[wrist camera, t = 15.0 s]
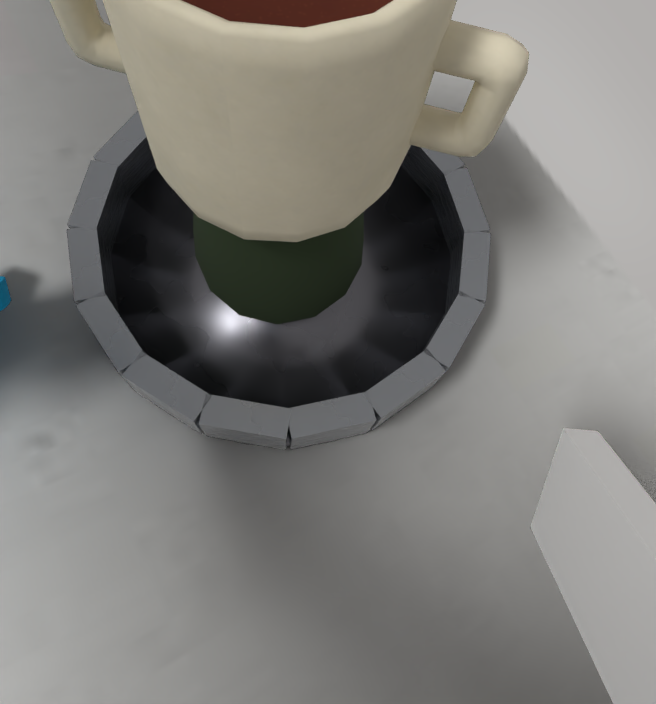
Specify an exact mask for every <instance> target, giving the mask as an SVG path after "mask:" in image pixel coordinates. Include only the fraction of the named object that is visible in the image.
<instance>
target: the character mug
mask: <svg viewBox="0 0 656 704" xmlns="http://www.w3.org/2000/svg"><path fill="white" fill-rule="evenodd" d="M456 2H457V0H103V3H104V6H105V9H106V12H107V15H108V18H109V22H110V25H111V26H110V25H108V24H106V23H104V22H103V20H102V18H101V17H100V14H99V11H98V8H97V5H96V2H95V0H50V3H51V5H52V7H53V10H54V12H55V15H56V17H57V19H58V22H59V24H60V27H61V29H62V31H63V34H64V36H65V38H66V41H67V43H68V44H69V46H70V47H71V48H72V50H73V51H74V53H75V54H76V55H77V57H78V58H80V59H82V60H84V61H86V62H88V63H90V64H92V65H95V66H98V67H102V68H106V69H110V70H114V71H118V72H122V73H126V75H127V78H128V81H129V84H130V87H131V90H132V93H133V96H134V99H135V103H136V106H137V109H138V112H139V115H140V118H141V121H142V124H143V127H144V130H145V134H146V137H147V140H148V143H149V146H150V149H151V152H152V155H153V158H154V161H155V164H156V167H157V170H158V171H159V172H160V174H161V175H162V177H163V178H164V179H165V181H166V182H167V183H168V184H169V186H170V187H171V188H172V189H173V190H174V191H175V192H176V193H177V194H178V196H179V197H180V198H181V199H182V200H183V201H184V202H185V203H186V204H187V206H188V207H189V208H190V209H191V210H192V211H193V234H194V245H195V256H196V259H197V261H198V264H199V266H200V268H201V271H202V273H203V275H204V278H205V280H206V282H207V285H208V287H209V289H210V291H211V292H212V293H214V294H215V295H216V296H217V297H218V298H220V299H221V300H222V301H223V302H224V303H225V304H227V305H228V306H229V307H230V308H231V309H233V310H234V311H235V312H236V313H237V314H238V315H241V316H245V317H249V318H253V319H257V320H261V321H265V322H269V323H273V324H282V323H287V322H292V321H297V320H302V319H307V318H312V317H315V316H317V315H318V314H320V313H321V312H322V311H324V310H325V309H326V308H328V307H329V306H331V305H332V304H333V303H335V302H336V301H338V300H339V299H340V298H342V297H343V296H344V295H346V293H347V291H348V289H349V287H350V285H351V284H352V282H353V280H354V278H355V276H356V274H357V272H358V271H359V269H360V267H361V265H362V254H363V242H364V211H365V210H366V209H367V208H368V207H370V206H371V205H372V204H373V203H374V202H375V201H377V200H378V199H379V198H380V197H381V196H382V195H383V194H384V193H385V192H386V191H387V190H388V188H389V187H390V186H391V184H392V182H393V180H394V178H395V176H396V174H397V172H398V170H399V168H400V166H401V164H402V162H403V160H404V158H405V156H406V154H407V152H408V150H409V148H410V146H411V145H414V146H418V147H422V148H426V149H430V150H434V151H438V152H442V153H446V154H450V155H454V156H458V157H476V156H477V155H478V154H479V153H480V152H481V151H482V150H484V149H485V148H486V147H487V146H488V144H489V143H490V142H491V141H492V140H493V138H494V136H495V134H496V132H497V130H498V128H499V126H500V125H501V123H502V121H503V119H504V117H505V115H506V113H507V111H508V109H509V107H510V105H511V103H512V101H513V99H514V97H515V95H516V93H517V91H518V89H519V87H520V86H521V83H522V81H523V80H524V78H525V76H526V74H527V67H528V59H529V52H528V51H527V49H526V48H525V47H524V46H523V45H522V44H521V43H520V42H518V41H517V40H515V39H514V38H512V37H510V36H509V35H507V34H505V33H501V32H496V31H493V30H489V29H485V28H481V27H477V26H473V25H469V24H465V23H461V22H456V21H453V20H451V17H452V14H453V11H454V8H455V5H456ZM434 71H437V72H441V73H445V74H449V75H453V76H457V77H462V78H466V79H470V80H474V81H475V83H474V85H473V88H472V90H471V92H470V95H469V97H468V100H467V102H466V105H465V107H464V109H463V112H461V113H458V112H454V111H450V110H446V109H442V108H438V107H434V106H430V105H426V104H424V102H425V99H426V96H427V93H428V90H429V86H430V83H431V80H432V77H433V74H434Z"/></svg>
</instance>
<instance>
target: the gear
mask: <svg viewBox="0 0 656 704" xmlns="http://www.w3.org/2000/svg"><path fill="white" fill-rule="evenodd" d="M10 301H11V298H10V294H9V290H8V286H7V283H6V279H5V277H3V276H0V311H1V310H3V309H5V308H6V307H7V306H8V305H9V303H10Z"/></svg>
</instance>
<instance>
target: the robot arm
mask: <svg viewBox="0 0 656 704" xmlns="http://www.w3.org/2000/svg"><path fill="white" fill-rule="evenodd" d="M530 528H531V530H532V532H533V534H534V536H535V538H536V541H537V543H538V545H539V547H540V549H541V551H542V553H543V556H544V558H545V560H546V562H547V564H548V566H549V568H550V570H551V573H552V575H553V577H554V579H555V581H556V583H557V585H558V587H559V590H560V592H561V594H562V596H563V598H564V600H565V602H566V605H567V607H568V609H569V611H570V613H571V615H572V617H573V619H574V622H575V624H576V626H577V628H578V630H579V632H580V634H581V636H582V639H583V641H584V643H585V645H586V647H587V649H588V651H589V654H590V656H591V658H592V660H593V662H594V664H595V666H596V668H597V671H598V673H599V675H600V677H601V679H602V681H603V683H604V686H605V688H606V690H607V692H608V694H609V696H610V698H611V700H612V703H613V704H656V503H655V502H654V501H653V499H652V498H651V497H650V496H649V494H648V493H647V492H646V491H645V489H644V488H643V487H642V486H641V484H640V483H639V482H638V481H637V479H636V478H635V477H634V476H633V474H632V473H631V472H630V471H629V469H628V468H627V467H626V465H625V464H624V463H623V462H622V460H621V459H620V458H619V457H618V455H617V454H616V453H615V452H614V450H613V449H612V448H611V447H610V445H609V444H608V443H607V442H606V440H605V439H604V438H603V437H602V435H601V434H600V433H599V432H598V431H594V430H582V429H571V428H563V430H562V433H561V436H560V439H559V442H558V445H557V448H556V451H555V454H554V457H553V460H552V463H551V466H550V469H549V472H548V475H547V478H546V481H545V484H544V487H543V490H542V493H541V496H540V499H539V502H538V505H537V508H536V511H535V514H534V517H533V520H532V523H531V526H530Z"/></svg>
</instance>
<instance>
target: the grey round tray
mask: <svg viewBox="0 0 656 704" xmlns="http://www.w3.org/2000/svg"><path fill="white" fill-rule="evenodd" d="M94 158H95V160H96V161H93V160H91V162H90V165H89V167H88V170H87V173H86V175H85V178H84V181H83V184H82V186H81V189H80V192H79V194H78V197H77V200H76V203H75V205H74V208H73V211H72V213H71V216H70V219H69V221H68V224H67V225H68V227H69V228H70V229H67V238H68V247H69V257H70V266H71V276H72V285H73V295H74V302H75V303H76V304H77V305H76V307H77V308H78V310H79V312H80V313H81V315H82V316H83V318H84V319H85V321H86V323H87V324H88V326H89V327H90V329H91V330H92V332H93V334H94V335H95V337H96V338H97V340H98V341H99V343H100V345H101V346H102V348H103V349H104V351H105V352H106V354H107V356H108V357H109V359H110V360H111V362H112V363H113V365H114V366H115V368H116V370H117V371H118V373H119V374H120V375H121V376H122V377H123V378H124V379H125V380H126V382H127V383H128V384H129V385H130V386H131V387H132V388H133V389H134V390H135V391H136V392H137V393H138V394H140V395H141V396H143V397H145V398H146V399H148V400H149V401H151V402H152V403H154V404H155V405H157V406H159V407H160V408H162V409H163V410H165V411H166V412H167V413H169V414H170V415H172V416H174V417H175V418H177V419H179V420H180V421H182V422H183V423H185V424H186V425H188V426H190V427H191V428H193V429H194V430H196V431H197V432H199V433H200V434H202V433H203V432H204V433H205V435H206V436H208V437H214V438H220V439H226V440H232V441H236V442H240V443H244V444H251V445H260V446H266V447H272V448H278V449H283V450H286V447H290V449H291V450H292V449H296V448H301V447H305V446H310V445H314V444H320V443H326V442H331V441H334V440H338V439H341V438H345V437H350V436H354V435H359V434H363V433H367V432H368V431H369V430H370V429H371V430H373V429H375V428H376V427H377V426H379V425H380V424H382V423H383V422H384V421H386V420H387V419H389V418H390V417H391V416H393V415H394V414H395V413H397V412H399V411H400V410H402V409H403V408H404V407H405V406H407V405H408V404H409V403H411V402H412V401H413V400H415V399H416V398H418V397H419V396H420V395H422V394H423V393H425V392H426V391H427V390H429V389H430V388H431V387H432V386H433V385H434V384H435V383H436V382H437V381H438V380H439V379H440V378H441V377H442V375H443V374H444V373H445V372H446V371H447V370H448V369H449V368H450V366H451V364H452V362H453V361H454V359H455V357H456V355H457V353H458V352H459V350H460V348H461V346H462V345H463V343H464V341H465V339H466V338H467V336H468V334H469V332H470V331H471V329H472V327H473V325H474V323H475V322H476V320H477V318H478V316H479V315H480V313H481V311H482V309H483V308H484V306H485V305H484V303H485V302H486V297H487V282H488V268H489V253H490V238H491V233H488V232H489V230H490V227H489V225H488V222H487V219H486V217H485V214H484V211H483V209H482V206H481V203H480V201H479V198H478V195H477V193H476V190H475V187H474V185H473V182H472V179H471V177H470V174H469V171H468V169H467V168H463V167H464V165H465V164H464V163H463V161H462V160H461V159H460V158H459V157H458V156H454V155H450V154H446V153H442V152H438V151H434V150H430V149H426V148H422V147H418V146H414V145H411V146H410V148H409V150H408V152H407V154H406V156H405V158H404V160H403V162H402V164H401V166H400V168H399V170H398V172H397V174H396V176H395V178H394V180H393V182H392V184H391V186H390V187H389V188H388V190H387V191H386V192H385V193H384V194H383V195H382V196H381V197H380V198H379V199H378V200H377V201H375V202H374V203H373V204H372V205H371V206H370V207H368V208H367V209H366V210H365V211H364V242H363V254H362V265H361V267H360V269H359V271H358V272H357V274H356V276H355V278H354V280H353V282H352V284H351V285H350V287H349V289H348V291H347V293H346V295H344V296H343V297H342V298H340V299H339V300H338V301H336V302H335V303H333V304H332V305H331V306H329V307H328V308H326V309H325V310H324V311H322V312H321V313H320V314H318V315H317V316H315V317H312V318H307V319H302V320H297V321H292V322H287V323H282V324H273V323H269V322H265V321H261V320H257V319H253V318H249V317H245V316H241V315H238V314H237V313H236V312H235V311H234V310H233V309H231V308H230V307H229V306H228V305H227V304H225V303H224V302H223V301H222V300H221V299H220V298H218V297H217V296H216V295H215V294H214V293H212V292H211V291H210V289H209V287H208V285H207V282H206V280H205V278H204V275H203V273H202V271H201V268H200V266H199V264H198V261H197V259H196V256H195V245H194V234H193V211H192V210H191V209H190V208H189V207H188V206H187V204H186V203H185V202H184V201H183V200H182V199H181V198H180V197H179V196H178V194H177V193H176V192H175V191H174V190H173V189H172V188H171V187H170V186H169V184H168V183H167V182H166V181H165V179H164V178H163V177H162V175H161V174H160V172H159V171H158V170H157V167H156V164H155V161H154V158H153V155H152V152H151V149H150V146H149V143H148V140H147V137H146V134H145V130H144V127H143V124H142V121H141V118H140V115H139V112H138V111H137V112H136V113H135V114H134V115H133V116H132V117H131V118H130V119H129V120H128V121H127V122H126V123H125V124H124V126H123V127H122V128H121V129H120V130H119V131H118V132H117V133H116V134H115V135H114V136H113V137H112V138H111V139H110V140H109V141H108V142H107V143H106V144H105V145H104V146H103V147H102V148H101V149H100V150H99V151H98V152H97V153H96V154H95V155H94Z"/></svg>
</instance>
